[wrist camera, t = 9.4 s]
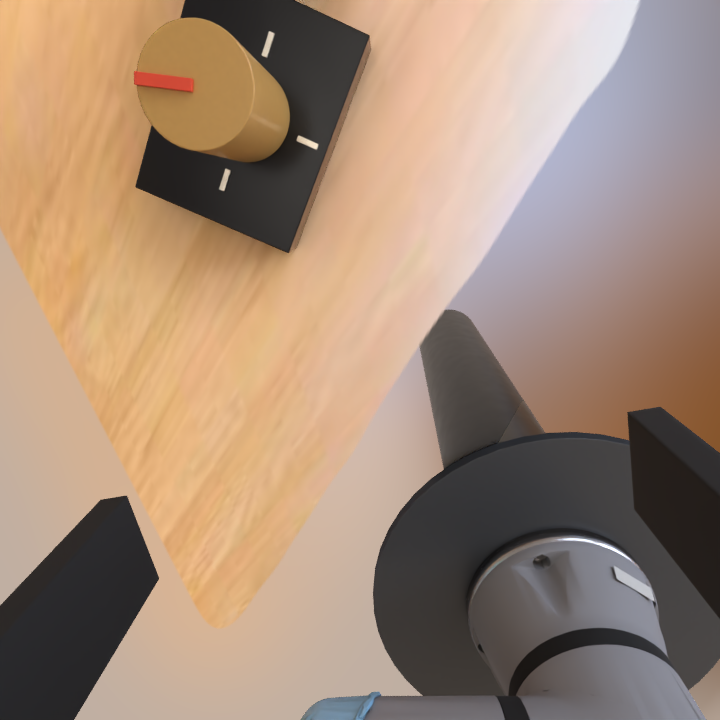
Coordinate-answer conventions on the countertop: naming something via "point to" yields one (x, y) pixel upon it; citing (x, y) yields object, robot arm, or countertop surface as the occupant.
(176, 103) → the brass dial cylinder
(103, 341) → the countertop surface
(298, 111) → the black dial panel
